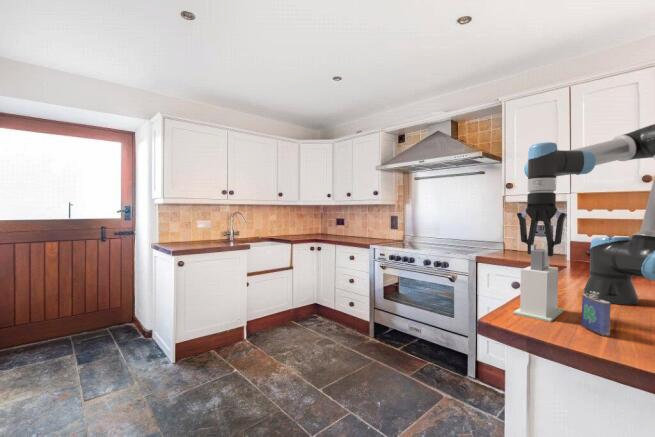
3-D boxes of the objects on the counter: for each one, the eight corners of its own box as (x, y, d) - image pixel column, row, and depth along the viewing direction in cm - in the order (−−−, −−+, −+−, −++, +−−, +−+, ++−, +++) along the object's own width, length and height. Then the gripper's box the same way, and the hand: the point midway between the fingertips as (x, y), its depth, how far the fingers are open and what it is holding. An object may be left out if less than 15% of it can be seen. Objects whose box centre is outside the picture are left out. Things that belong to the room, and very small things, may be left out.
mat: (563, 310, 103) (563, 308, 103) (550, 322, 93) (550, 319, 92) (528, 303, 111) (528, 302, 111) (513, 313, 100) (513, 311, 100)
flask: (612, 337, 81) (613, 296, 81) (599, 336, 82) (600, 295, 82) (588, 324, 91) (589, 287, 90) (577, 324, 91) (577, 287, 91)
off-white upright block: (557, 308, 103) (558, 249, 103) (546, 317, 95) (547, 252, 94) (532, 303, 109) (533, 247, 108) (520, 311, 100) (521, 250, 99)
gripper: (509, 192, 104) (508, 263, 105) (569, 190, 92) (568, 270, 93) (517, 193, 109) (516, 261, 110) (575, 191, 97) (573, 267, 98)
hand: (539, 265), depth 101 cm, fingers closed on off-white upright block, 3 cm apart
